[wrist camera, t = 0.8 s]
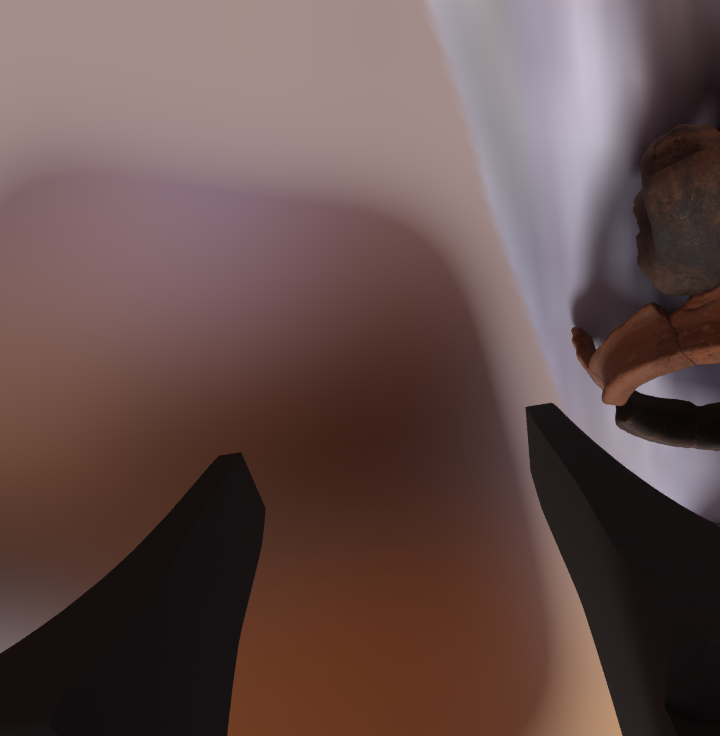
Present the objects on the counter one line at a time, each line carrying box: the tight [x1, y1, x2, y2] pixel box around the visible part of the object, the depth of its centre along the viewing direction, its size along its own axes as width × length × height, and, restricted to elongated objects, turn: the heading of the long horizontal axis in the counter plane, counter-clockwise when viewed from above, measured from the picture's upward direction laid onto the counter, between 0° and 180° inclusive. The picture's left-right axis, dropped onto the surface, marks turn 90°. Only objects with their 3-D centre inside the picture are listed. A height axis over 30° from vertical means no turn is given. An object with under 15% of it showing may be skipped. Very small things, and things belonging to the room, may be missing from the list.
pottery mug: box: [571, 124, 720, 451], centre depth 18 cm, size 12×10×8 cm
